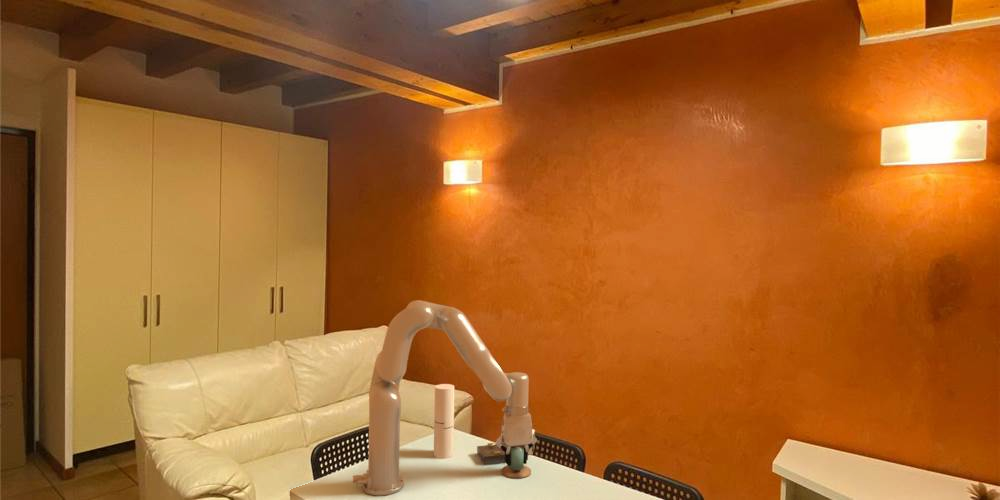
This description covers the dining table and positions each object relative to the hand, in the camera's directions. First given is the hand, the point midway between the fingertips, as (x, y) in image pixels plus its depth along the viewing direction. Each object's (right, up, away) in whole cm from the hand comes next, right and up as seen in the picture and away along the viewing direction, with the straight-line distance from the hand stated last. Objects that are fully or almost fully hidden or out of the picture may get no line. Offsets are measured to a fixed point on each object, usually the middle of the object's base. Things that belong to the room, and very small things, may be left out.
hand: (516, 462), depth 170 cm
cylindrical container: (-26, -3, +14) cm, 30 cm away
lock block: (-8, -3, +11) cm, 14 cm away
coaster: (0, -3, 0) cm, 3 cm away
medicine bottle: (+4, -4, +19) cm, 20 cm away
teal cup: (0, -1, 0) cm, 1 cm away
